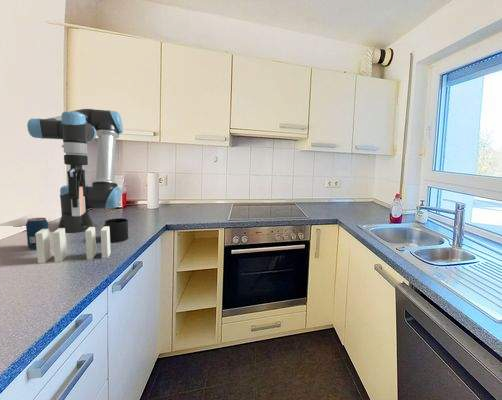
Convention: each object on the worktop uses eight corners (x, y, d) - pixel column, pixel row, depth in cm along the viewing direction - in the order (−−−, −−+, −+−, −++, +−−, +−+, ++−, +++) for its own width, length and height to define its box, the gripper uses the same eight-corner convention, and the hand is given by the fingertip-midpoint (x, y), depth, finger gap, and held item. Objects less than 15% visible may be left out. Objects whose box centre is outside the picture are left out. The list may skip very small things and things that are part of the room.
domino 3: (73, 216, 98) (72, 187, 97) (78, 213, 104) (76, 186, 102) (79, 216, 99) (78, 187, 97) (84, 213, 105) (82, 186, 103)
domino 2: (54, 262, 93) (52, 232, 91) (60, 256, 99) (58, 228, 97) (61, 261, 94) (59, 232, 92) (66, 255, 99) (64, 228, 97)
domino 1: (38, 263, 91) (35, 233, 90) (44, 257, 97) (42, 228, 95) (44, 262, 92) (42, 233, 90) (51, 256, 98) (49, 228, 96)
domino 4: (86, 259, 96) (85, 231, 95) (90, 253, 102) (89, 227, 100) (92, 259, 97) (91, 231, 95) (96, 253, 103) (95, 226, 101)
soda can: (36, 244, 109) (33, 217, 107) (53, 244, 110) (51, 217, 108) (23, 250, 102) (20, 221, 100) (42, 250, 103) (39, 221, 101)
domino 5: (101, 258, 98) (100, 230, 96) (104, 252, 104) (103, 226, 102) (107, 258, 99) (106, 230, 97) (110, 252, 104) (109, 226, 103)
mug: (110, 235, 126) (109, 217, 125) (132, 237, 124) (132, 219, 123) (95, 240, 117) (94, 221, 116) (119, 243, 115) (118, 223, 114)
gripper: (72, 154, 106) (75, 209, 109) (54, 153, 88) (58, 219, 91) (93, 155, 108) (95, 209, 111) (80, 154, 91) (83, 218, 94)
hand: (78, 213), depth 101 cm, fingers closed on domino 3, 6 cm apart
